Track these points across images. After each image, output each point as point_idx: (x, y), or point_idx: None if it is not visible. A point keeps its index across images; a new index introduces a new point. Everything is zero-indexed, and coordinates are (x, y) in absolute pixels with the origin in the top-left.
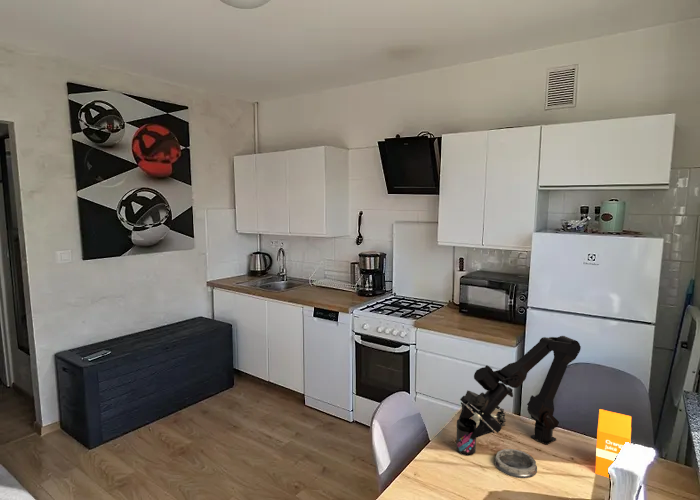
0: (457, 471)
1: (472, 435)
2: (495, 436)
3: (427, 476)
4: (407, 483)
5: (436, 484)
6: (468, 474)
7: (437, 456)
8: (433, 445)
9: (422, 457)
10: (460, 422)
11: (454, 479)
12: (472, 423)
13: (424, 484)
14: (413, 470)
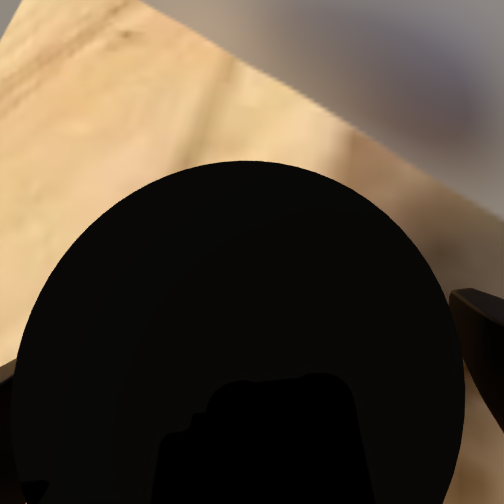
0: (73, 229)
1: (14, 361)
2: None
3: (91, 79)
4: (78, 5)
5: (25, 104)
6: (25, 283)
7: (247, 158)
8: (388, 162)
9: (253, 79)
10: (246, 224)
11: (21, 191)
12: (139, 483)
13: (46, 60)
14: (153, 31)
